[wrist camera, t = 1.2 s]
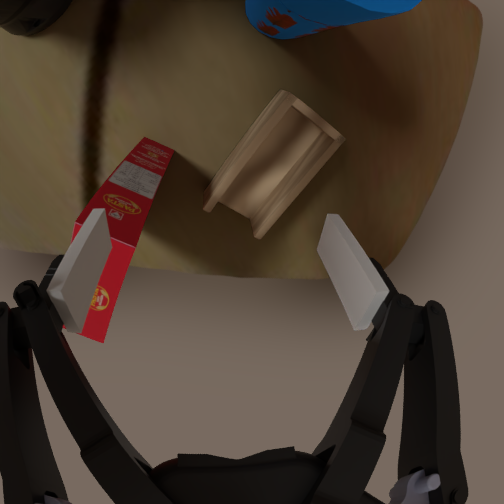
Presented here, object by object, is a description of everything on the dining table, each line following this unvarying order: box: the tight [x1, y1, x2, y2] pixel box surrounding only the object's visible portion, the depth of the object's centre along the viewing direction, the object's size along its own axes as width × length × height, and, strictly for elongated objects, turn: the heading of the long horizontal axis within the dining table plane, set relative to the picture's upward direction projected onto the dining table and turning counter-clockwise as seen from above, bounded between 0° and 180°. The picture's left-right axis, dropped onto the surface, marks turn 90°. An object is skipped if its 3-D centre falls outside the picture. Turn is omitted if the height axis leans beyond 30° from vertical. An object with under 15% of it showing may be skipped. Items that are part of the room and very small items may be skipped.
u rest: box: [203, 89, 346, 240], centre depth 40 cm, size 10×20×6 cm, turn 144°
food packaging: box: [63, 137, 174, 343], centre depth 32 cm, size 15×5×25 cm, turn 148°
